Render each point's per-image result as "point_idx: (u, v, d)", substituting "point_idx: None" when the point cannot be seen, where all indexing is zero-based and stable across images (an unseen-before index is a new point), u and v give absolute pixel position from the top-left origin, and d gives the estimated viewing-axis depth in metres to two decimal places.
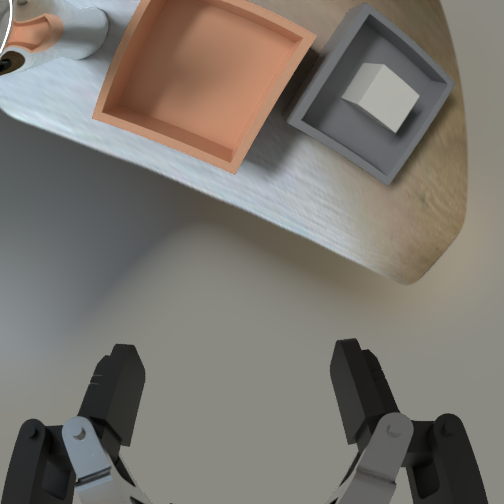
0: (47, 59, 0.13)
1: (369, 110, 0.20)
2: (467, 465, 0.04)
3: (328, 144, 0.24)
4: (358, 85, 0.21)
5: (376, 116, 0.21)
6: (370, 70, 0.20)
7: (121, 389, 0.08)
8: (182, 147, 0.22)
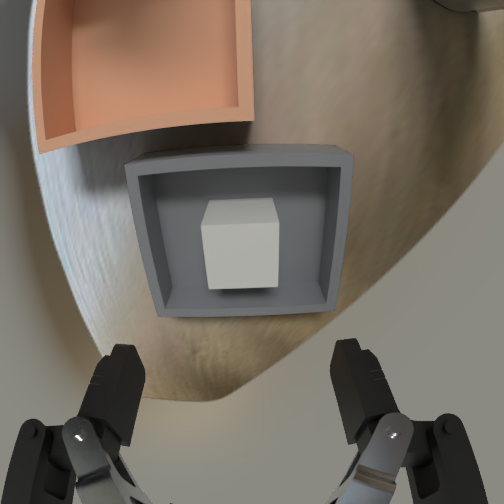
0: None
1: (205, 243, 0.17)
2: (467, 465, 0.04)
3: (137, 225, 0.18)
4: (233, 210, 0.18)
5: (206, 256, 0.17)
6: (262, 211, 0.18)
7: (121, 389, 0.08)
8: (36, 80, 0.11)
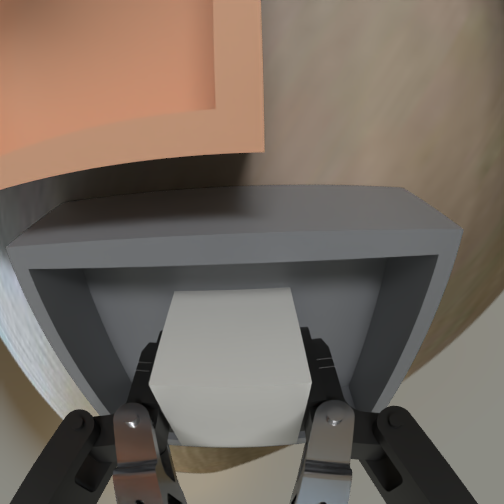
0: None
1: (163, 406, 0.08)
2: (427, 453, 0.05)
3: (52, 343, 0.08)
4: (215, 330, 0.09)
5: (169, 417, 0.08)
6: (275, 339, 0.09)
7: None
8: None
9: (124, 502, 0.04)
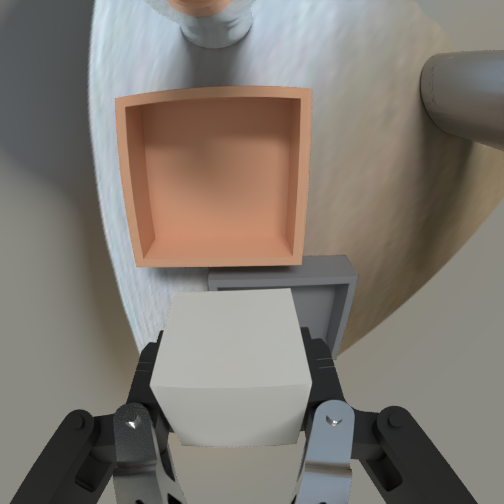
0: None
1: (164, 406, 0.08)
2: (426, 453, 0.05)
3: None
4: (216, 331, 0.09)
5: (170, 418, 0.08)
6: (275, 340, 0.09)
7: None
8: (130, 211, 0.21)
9: (124, 502, 0.04)
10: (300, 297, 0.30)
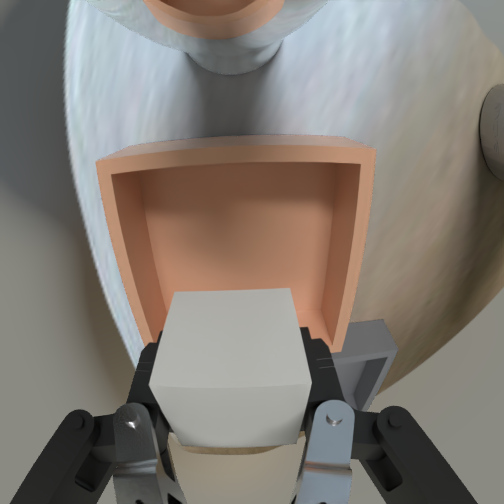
0: None
1: (163, 406, 0.08)
2: (426, 453, 0.05)
3: None
4: (215, 331, 0.09)
5: (169, 418, 0.08)
6: (275, 340, 0.09)
7: None
8: (135, 303, 0.17)
9: (124, 502, 0.04)
10: None
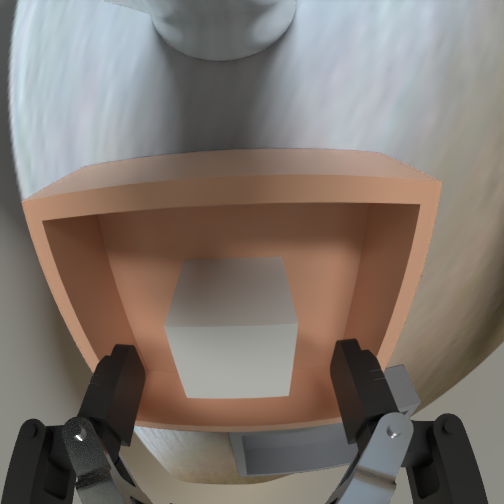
0: None
1: (174, 349, 0.10)
2: (467, 465, 0.04)
3: (235, 452, 0.18)
4: (219, 287, 0.11)
5: (178, 363, 0.10)
6: (268, 293, 0.11)
7: (121, 389, 0.08)
8: None
9: None
10: None
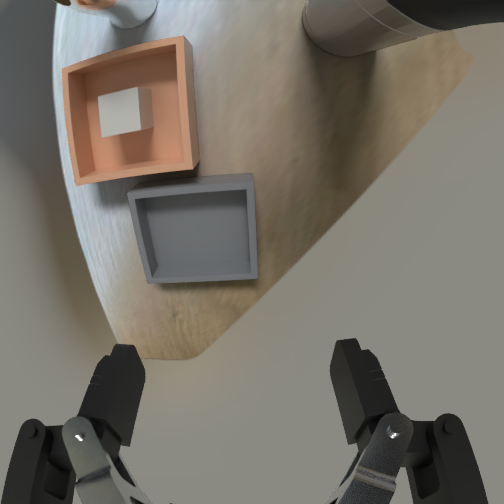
0: None
1: (99, 106, 0.23)
2: (467, 465, 0.04)
3: (135, 226, 0.31)
4: None
5: (100, 114, 0.23)
6: None
7: (121, 389, 0.08)
8: (71, 142, 0.25)
9: None
10: (214, 214, 0.34)
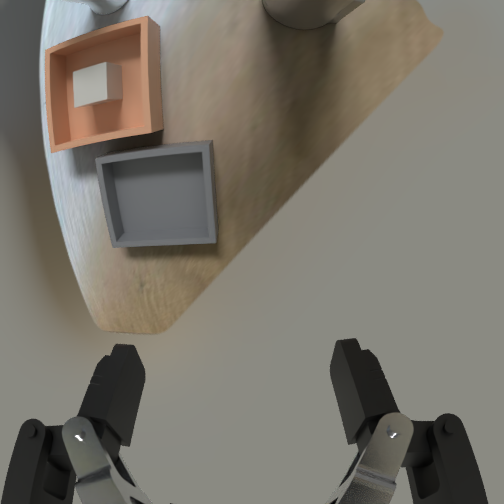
0: None
1: (74, 80, 0.23)
2: (467, 465, 0.04)
3: (101, 190, 0.31)
4: None
5: (74, 87, 0.23)
6: None
7: (121, 389, 0.08)
8: (49, 113, 0.25)
9: None
10: (176, 179, 0.34)
